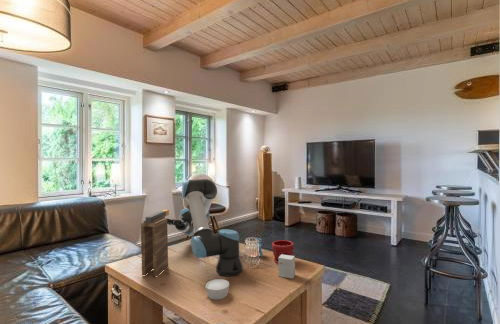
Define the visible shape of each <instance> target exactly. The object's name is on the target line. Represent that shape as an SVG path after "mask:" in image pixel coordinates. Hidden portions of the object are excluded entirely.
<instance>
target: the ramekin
mask: <svg viewBox="0 0 500 324" xmlns="http://www.w3.org/2000/svg"><path fill="white" fill-rule="evenodd" d="M229 288H230V282H229V281H228V280H226V279H223V278H222V279H221V278H217V279H215V278H214V279H212V280H209V281H208V282H206V284H205V289H206V294H207V297H208V298H209V299H211V300H214V301H215V300H216V301H219V300H223V299H225V298H226V297H227V296H228V294H229Z"/></svg>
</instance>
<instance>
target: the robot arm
mask: <svg viewBox="0 0 500 324" xmlns="http://www.w3.org/2000/svg"><path fill="white" fill-rule="evenodd" d="M217 194H218V188H217V186H216V183H215V182H214V181H212V180H211V179H208V178H207V179H206V178H203V179H202V178H201V179H186V180H183V182H182V187H181V198H183V199H185V201H186V202H187V203H188V205H189V208H183V209H181V210H180V211H179V216H178V219H170V218H167V225H169V226H172V225H173V226H175V228H176V229H177V230H178V231H179V232H181V234H184V235H186V236H187V237H188V236H189V237H190V236H191V235H192V237H191V239H190V245H191V251H192V253H193V254H192V255H193V256H194V257H195V258H197V259H205V258H210V257H215V256H218V261H217V262H216V263H217V264H216V269H215V270H216V274H218V275H219V276H223V277H233V276H237V275H239V274H241V273H242V272H243V264H242V260H241V258H240V235H239V232H238V231H236V230H234V229H228V228H225V229H224V228H223V229H219V230H218V231H217V232H218V233H214V231H213V229H212V228H210V227H209V222H208V220H209V219H210V209H211V205H212V203H213V200H214V199H215V198H216V197H217Z"/></svg>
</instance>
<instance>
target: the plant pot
mask: <svg viewBox="0 0 500 324" xmlns="http://www.w3.org/2000/svg"><path fill="white" fill-rule="evenodd" d="M271 244H272V247H271V248H272V254H273V256H274V257H273V261H274V263H276V264H278V258H279V256H280V255H281V254H283V255H290V256H294V242H292V241H290V240H283V239H281V240H275V241H272V243H271Z"/></svg>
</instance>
